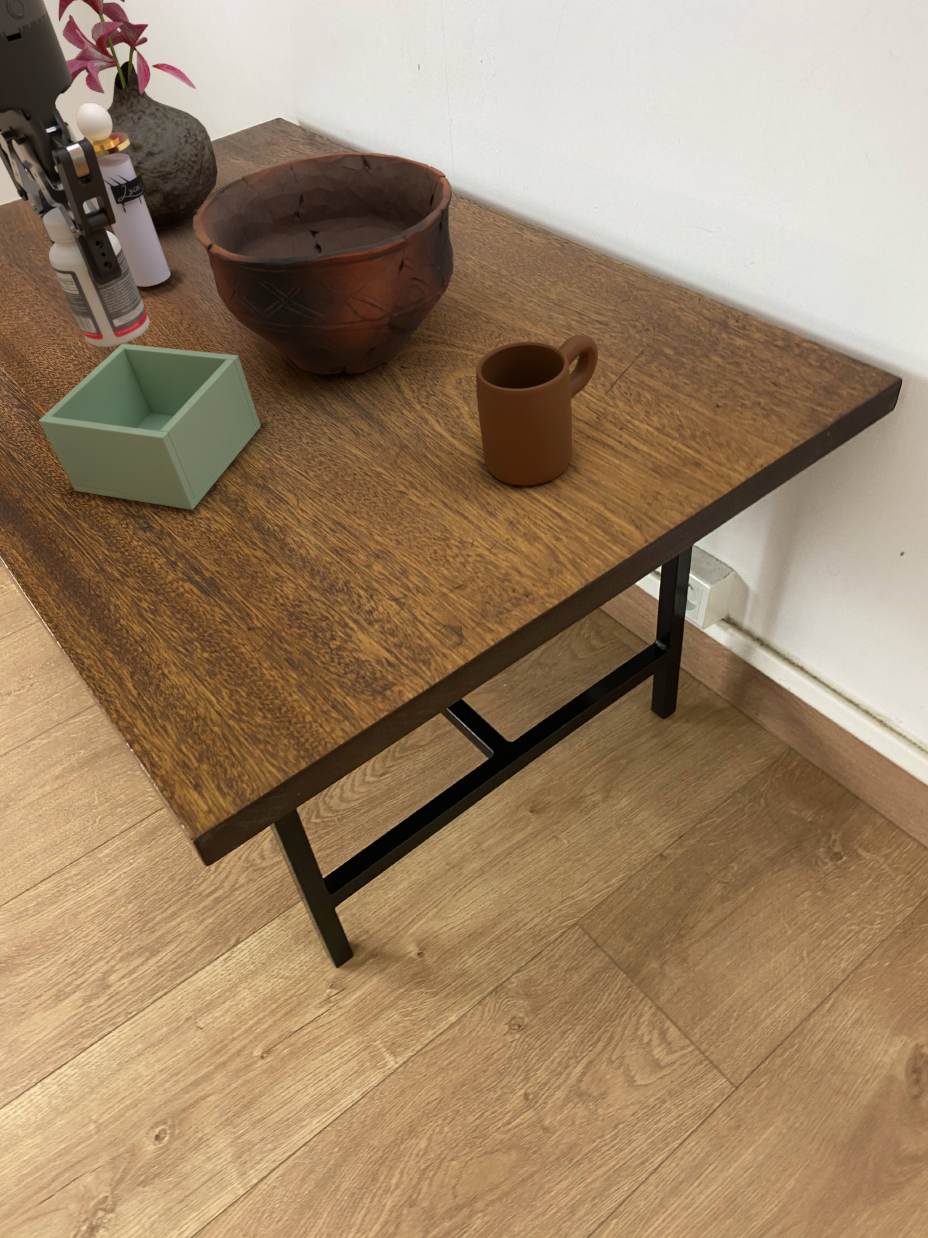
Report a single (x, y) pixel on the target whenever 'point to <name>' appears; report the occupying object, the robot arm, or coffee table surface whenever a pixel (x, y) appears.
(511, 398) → the mug
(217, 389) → the bin
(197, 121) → the vase
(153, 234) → the perfume bottle
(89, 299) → the pill bottle
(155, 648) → the coffee table surface
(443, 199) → the bowl
